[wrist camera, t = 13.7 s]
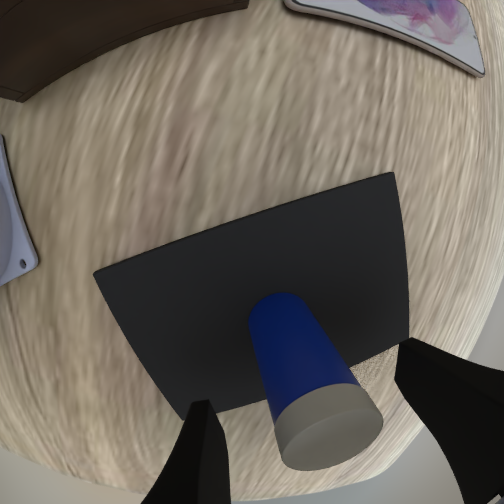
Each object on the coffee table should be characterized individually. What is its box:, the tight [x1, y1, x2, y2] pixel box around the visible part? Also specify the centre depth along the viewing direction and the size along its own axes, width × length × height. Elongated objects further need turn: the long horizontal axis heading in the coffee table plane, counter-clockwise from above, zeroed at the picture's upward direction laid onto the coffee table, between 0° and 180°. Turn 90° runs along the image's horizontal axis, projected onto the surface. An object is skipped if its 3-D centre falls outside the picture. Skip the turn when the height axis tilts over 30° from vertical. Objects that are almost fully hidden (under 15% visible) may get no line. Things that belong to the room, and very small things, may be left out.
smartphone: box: [284, 0, 485, 78], centre depth 10 cm, size 7×1×15 cm
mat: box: [93, 172, 409, 420], centre depth 15 cm, size 16×11×1 cm
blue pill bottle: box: [248, 293, 383, 471], centre depth 11 cm, size 3×3×8 cm
